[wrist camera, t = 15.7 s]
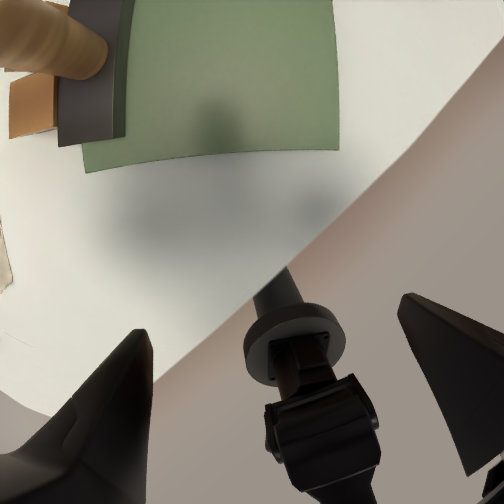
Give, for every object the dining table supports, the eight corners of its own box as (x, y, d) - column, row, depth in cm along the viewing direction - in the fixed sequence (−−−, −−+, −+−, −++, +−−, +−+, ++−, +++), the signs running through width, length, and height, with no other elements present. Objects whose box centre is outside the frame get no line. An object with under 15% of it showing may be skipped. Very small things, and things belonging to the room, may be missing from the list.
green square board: (333, 148, 19) (339, 150, 18) (90, 171, 17) (85, 173, 16) (322, -31, 12) (326, -36, 11) (88, -14, 10) (84, -19, 9)
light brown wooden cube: (79, 124, 16) (53, 127, 12) (38, 133, 15) (9, 139, 12) (81, 73, 14) (55, 65, 10) (39, 84, 13) (10, 82, 10)
